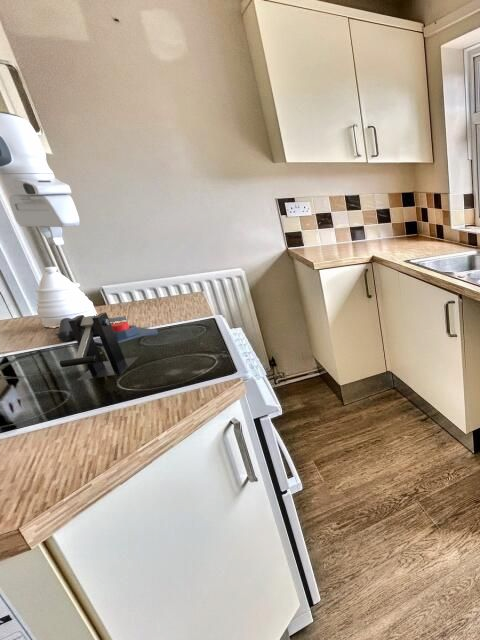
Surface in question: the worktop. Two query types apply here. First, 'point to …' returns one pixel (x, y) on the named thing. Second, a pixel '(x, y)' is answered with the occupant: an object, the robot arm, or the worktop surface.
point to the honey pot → (60, 299)
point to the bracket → (110, 345)
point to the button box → (130, 334)
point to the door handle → (67, 333)
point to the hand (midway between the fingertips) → (57, 244)
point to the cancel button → (120, 326)
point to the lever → (83, 345)
